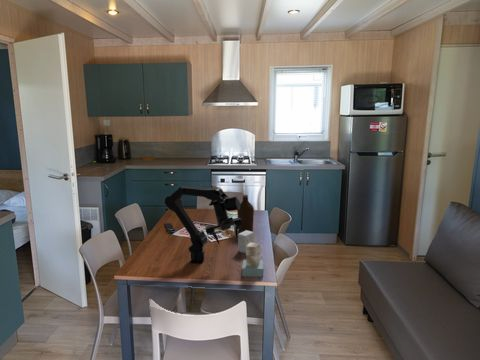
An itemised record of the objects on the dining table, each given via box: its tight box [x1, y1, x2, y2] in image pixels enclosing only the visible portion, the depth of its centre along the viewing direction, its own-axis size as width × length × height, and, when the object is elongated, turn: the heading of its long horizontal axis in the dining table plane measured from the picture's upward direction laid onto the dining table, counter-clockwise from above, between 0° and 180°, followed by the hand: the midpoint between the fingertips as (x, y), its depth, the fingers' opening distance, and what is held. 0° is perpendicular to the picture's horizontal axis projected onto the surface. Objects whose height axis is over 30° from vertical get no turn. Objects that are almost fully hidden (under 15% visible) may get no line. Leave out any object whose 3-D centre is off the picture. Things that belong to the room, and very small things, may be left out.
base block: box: [241, 259, 264, 278], centre depth 167 cm, size 10×10×4 cm
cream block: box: [245, 242, 261, 267], centre depth 166 cm, size 5×5×10 cm
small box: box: [237, 230, 255, 255], centre depth 193 cm, size 8×6×10 cm
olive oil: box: [236, 194, 255, 234], centre depth 221 cm, size 11×11×25 cm
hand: (227, 241), depth 174 cm, fingers open, 9 cm apart
